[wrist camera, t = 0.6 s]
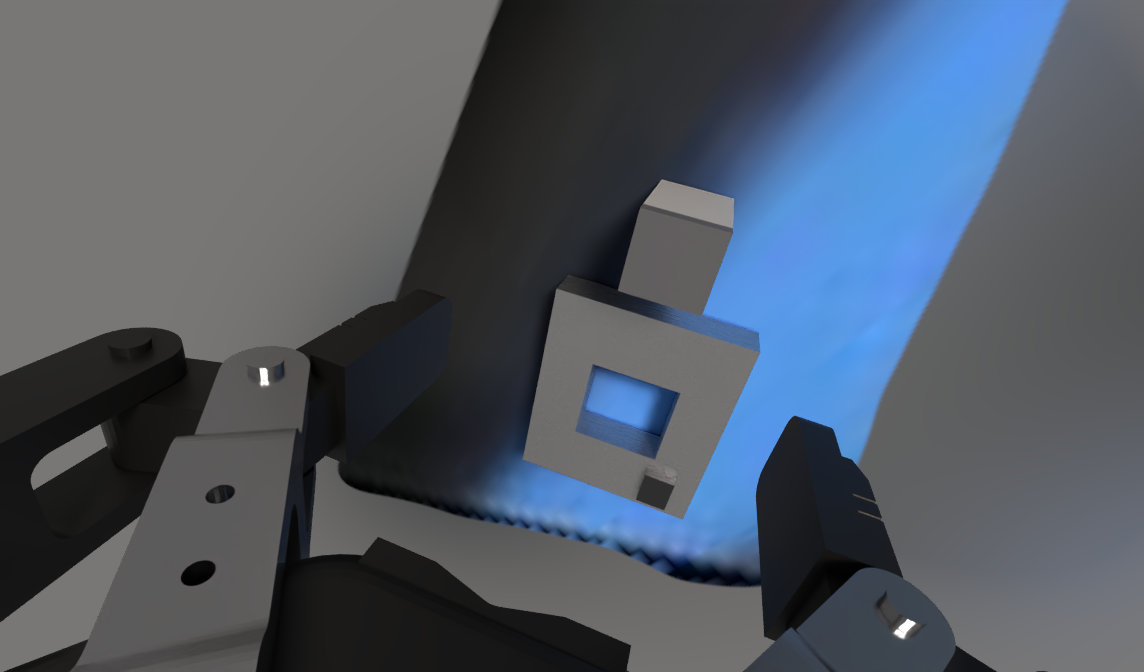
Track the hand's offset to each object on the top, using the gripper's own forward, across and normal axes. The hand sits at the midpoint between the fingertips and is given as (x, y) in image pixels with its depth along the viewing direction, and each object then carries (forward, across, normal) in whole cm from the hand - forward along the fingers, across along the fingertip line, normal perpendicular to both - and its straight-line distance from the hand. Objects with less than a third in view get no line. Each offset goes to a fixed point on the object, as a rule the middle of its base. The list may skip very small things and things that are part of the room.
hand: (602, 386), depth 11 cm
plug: (+19, 0, 0) cm, 19 cm away
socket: (+19, -1, +12) cm, 23 cm away
